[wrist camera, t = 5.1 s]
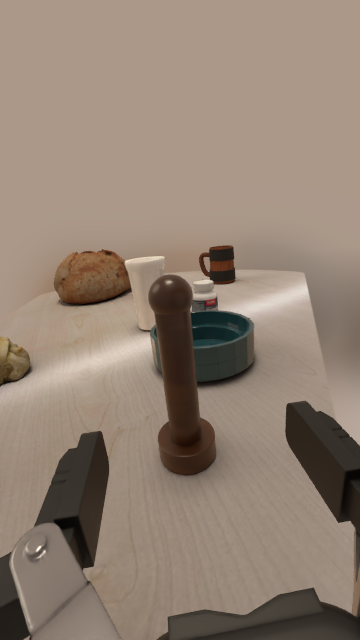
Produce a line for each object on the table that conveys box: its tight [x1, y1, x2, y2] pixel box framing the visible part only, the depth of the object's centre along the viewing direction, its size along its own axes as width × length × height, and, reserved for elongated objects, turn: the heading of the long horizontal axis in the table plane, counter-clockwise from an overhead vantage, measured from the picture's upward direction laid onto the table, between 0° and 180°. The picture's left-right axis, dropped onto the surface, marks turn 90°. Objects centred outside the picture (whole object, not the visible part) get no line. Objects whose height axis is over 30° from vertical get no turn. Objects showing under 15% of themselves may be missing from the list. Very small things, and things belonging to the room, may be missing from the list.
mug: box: [199, 246, 235, 284], centre depth 93 cm, size 9×12×12 cm
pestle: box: [148, 275, 216, 475], centre depth 23 cm, size 5×5×17 cm
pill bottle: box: [192, 280, 218, 312], centre depth 56 cm, size 5×5×9 cm
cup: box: [125, 256, 165, 330], centre depth 57 cm, size 8×8×14 cm
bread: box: [54, 249, 131, 304], centre depth 92 cm, size 26×23×15 cm
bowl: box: [150, 310, 254, 382], centre depth 42 cm, size 15×15×6 cm
